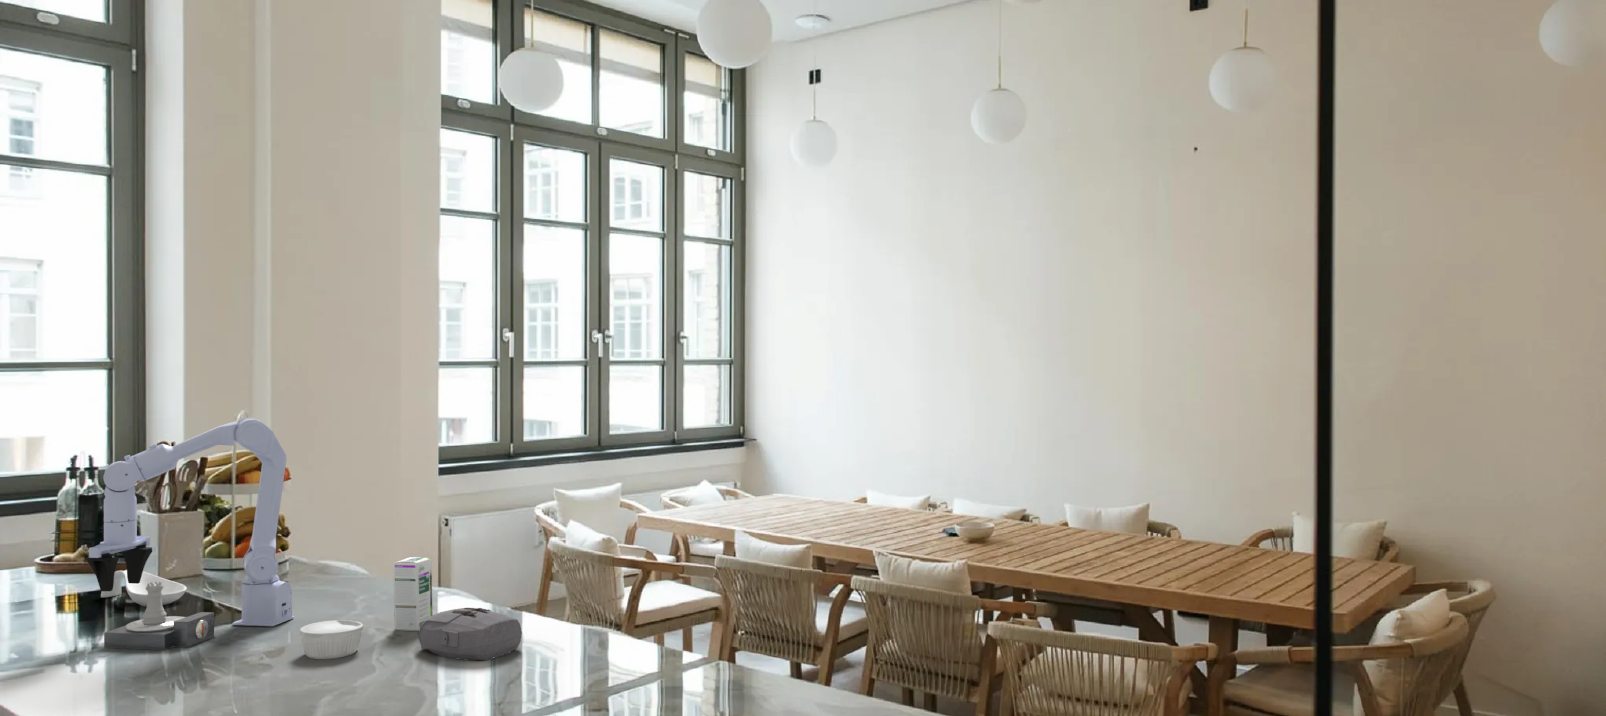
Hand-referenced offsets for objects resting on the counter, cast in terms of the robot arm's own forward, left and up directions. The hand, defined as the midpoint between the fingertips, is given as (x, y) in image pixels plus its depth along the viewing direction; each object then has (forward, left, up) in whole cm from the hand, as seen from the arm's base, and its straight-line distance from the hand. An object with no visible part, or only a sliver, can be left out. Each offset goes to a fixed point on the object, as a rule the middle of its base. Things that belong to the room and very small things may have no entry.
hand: (120, 587), depth 224 cm
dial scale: (-11, +1, -10) cm, 15 cm away
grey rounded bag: (-74, -1, -11) cm, 75 cm away
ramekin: (-49, +5, -11) cm, 51 cm away
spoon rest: (+21, -31, -11) cm, 39 cm away
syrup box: (-55, -16, -11) cm, 58 cm away
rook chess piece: (-8, +1, -7) cm, 11 cm away
